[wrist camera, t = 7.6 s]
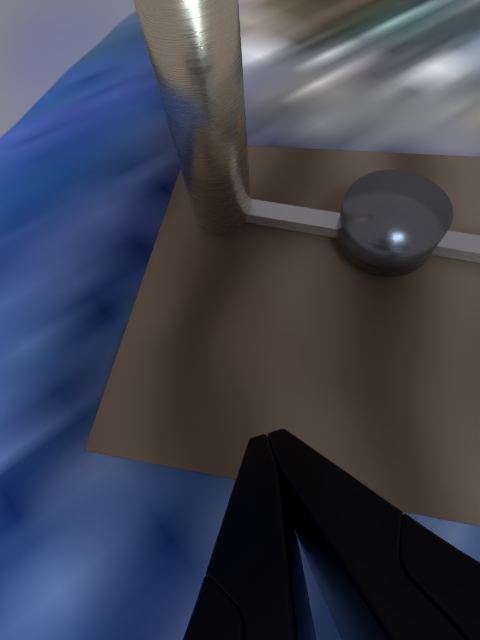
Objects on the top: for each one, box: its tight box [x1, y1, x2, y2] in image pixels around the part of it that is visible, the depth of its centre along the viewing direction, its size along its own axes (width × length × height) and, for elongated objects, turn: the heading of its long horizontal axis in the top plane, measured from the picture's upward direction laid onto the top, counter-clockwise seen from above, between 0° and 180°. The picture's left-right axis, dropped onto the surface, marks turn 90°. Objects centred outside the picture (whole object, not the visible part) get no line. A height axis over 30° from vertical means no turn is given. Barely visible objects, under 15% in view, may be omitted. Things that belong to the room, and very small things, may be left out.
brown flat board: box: [84, 146, 480, 526], centre depth 16 cm, size 24×18×2 cm
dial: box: [134, 0, 480, 277], centre depth 11 cm, size 19×4×11 cm, turn 74°
